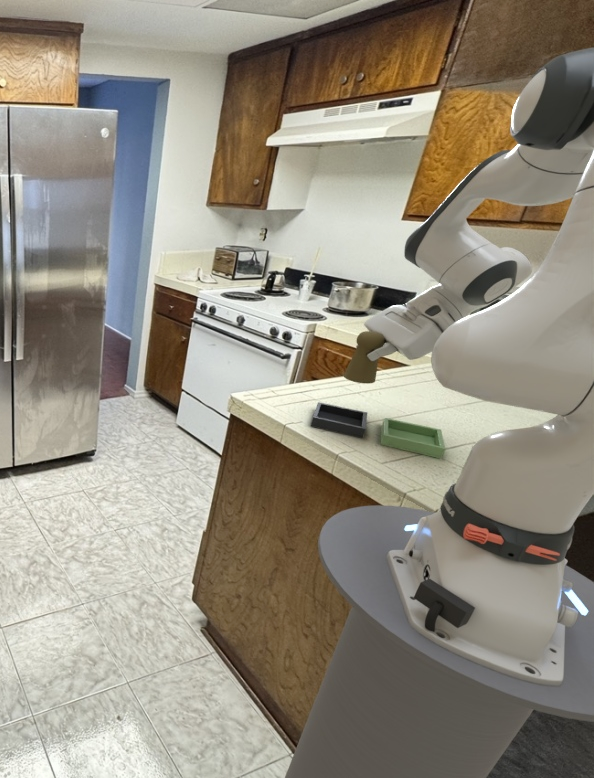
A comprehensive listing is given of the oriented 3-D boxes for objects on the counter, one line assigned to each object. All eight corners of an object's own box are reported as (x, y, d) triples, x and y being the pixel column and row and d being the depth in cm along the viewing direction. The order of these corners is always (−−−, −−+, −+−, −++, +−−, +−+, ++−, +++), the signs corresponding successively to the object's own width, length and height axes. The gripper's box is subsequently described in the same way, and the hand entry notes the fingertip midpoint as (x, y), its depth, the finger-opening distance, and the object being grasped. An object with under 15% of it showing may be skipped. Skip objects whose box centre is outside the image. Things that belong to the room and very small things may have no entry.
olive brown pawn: (368, 374, 110) (383, 329, 105) (379, 384, 104) (395, 337, 100) (339, 372, 111) (352, 328, 107) (348, 382, 106) (363, 335, 101)
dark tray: (362, 438, 110) (365, 429, 109) (310, 426, 116) (313, 417, 115) (364, 421, 117) (367, 412, 116) (315, 410, 123) (318, 402, 122)
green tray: (440, 458, 101) (445, 448, 100) (380, 444, 107) (383, 434, 106) (437, 438, 109) (441, 429, 108) (381, 426, 115) (384, 417, 114)
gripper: (397, 292, 108) (338, 330, 114) (448, 315, 90) (374, 359, 96) (414, 311, 108) (354, 349, 115) (467, 338, 91) (392, 380, 97)
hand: (363, 353), depth 105 cm, fingers closed on olive brown pawn, 4 cm apart
